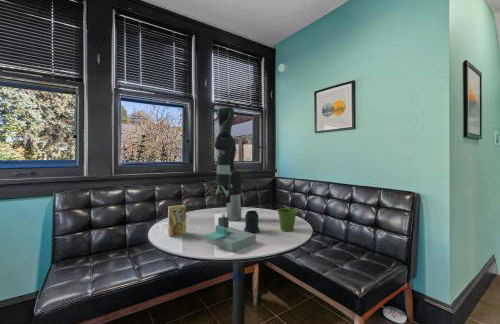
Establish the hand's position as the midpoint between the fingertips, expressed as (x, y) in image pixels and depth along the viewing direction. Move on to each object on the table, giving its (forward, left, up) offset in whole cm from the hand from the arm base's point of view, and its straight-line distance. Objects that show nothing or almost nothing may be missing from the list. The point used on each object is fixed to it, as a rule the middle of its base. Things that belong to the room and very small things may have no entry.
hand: (223, 201), depth 127 cm
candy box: (+20, -15, -17) cm, 30 cm away
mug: (-13, +10, -17) cm, 24 cm away
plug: (0, 0, -17) cm, 17 cm away
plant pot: (-28, +24, -17) cm, 41 cm away
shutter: (+15, +13, -13) cm, 24 cm away
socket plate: (+8, +15, -17) cm, 24 cm away
